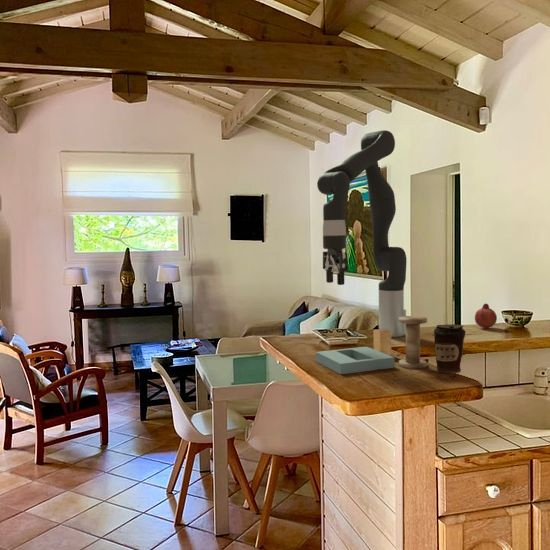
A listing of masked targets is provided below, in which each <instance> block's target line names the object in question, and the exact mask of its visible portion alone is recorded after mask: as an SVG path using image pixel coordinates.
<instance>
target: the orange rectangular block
mask: <svg viewBox="0 0 550 550" xmlns="http://www.w3.org/2000/svg"><path fill="white" fill-rule="evenodd" d="M373 349H374V350H377V351H379V352H382V353H384V354H387V355H390V356H392V337H391V331H390V330H387V329H379V328H378V329H373Z"/></svg>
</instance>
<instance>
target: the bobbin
mask: <svg viewBox="0 0 550 550" xmlns="http://www.w3.org/2000/svg"><path fill="white" fill-rule="evenodd" d="M399 322H401V323H406V335H405V358H401V359H400V360H398V366H399V367H401V368H405V369H411V370H412V369H413V370H418V369H419V370H420V369H424V368H427V367H428V361H426V360H424V359H421V324H423V325H424V324H427V323H428V318H427V317H426V316H421V315H420V316H418V315H406V316H402V317H399Z"/></svg>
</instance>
